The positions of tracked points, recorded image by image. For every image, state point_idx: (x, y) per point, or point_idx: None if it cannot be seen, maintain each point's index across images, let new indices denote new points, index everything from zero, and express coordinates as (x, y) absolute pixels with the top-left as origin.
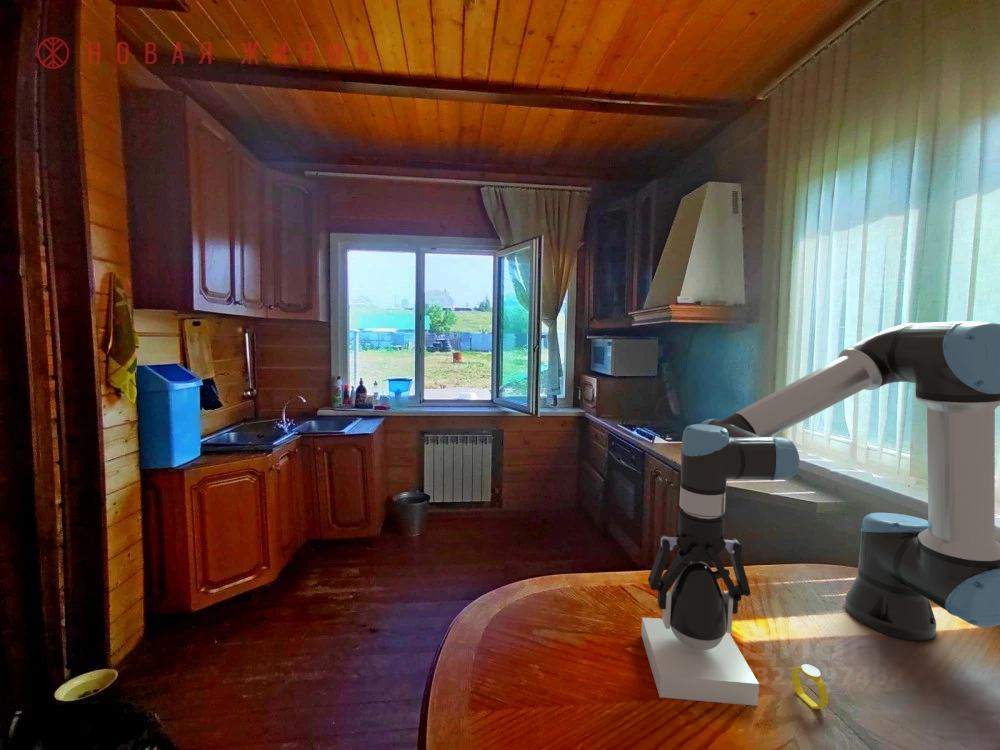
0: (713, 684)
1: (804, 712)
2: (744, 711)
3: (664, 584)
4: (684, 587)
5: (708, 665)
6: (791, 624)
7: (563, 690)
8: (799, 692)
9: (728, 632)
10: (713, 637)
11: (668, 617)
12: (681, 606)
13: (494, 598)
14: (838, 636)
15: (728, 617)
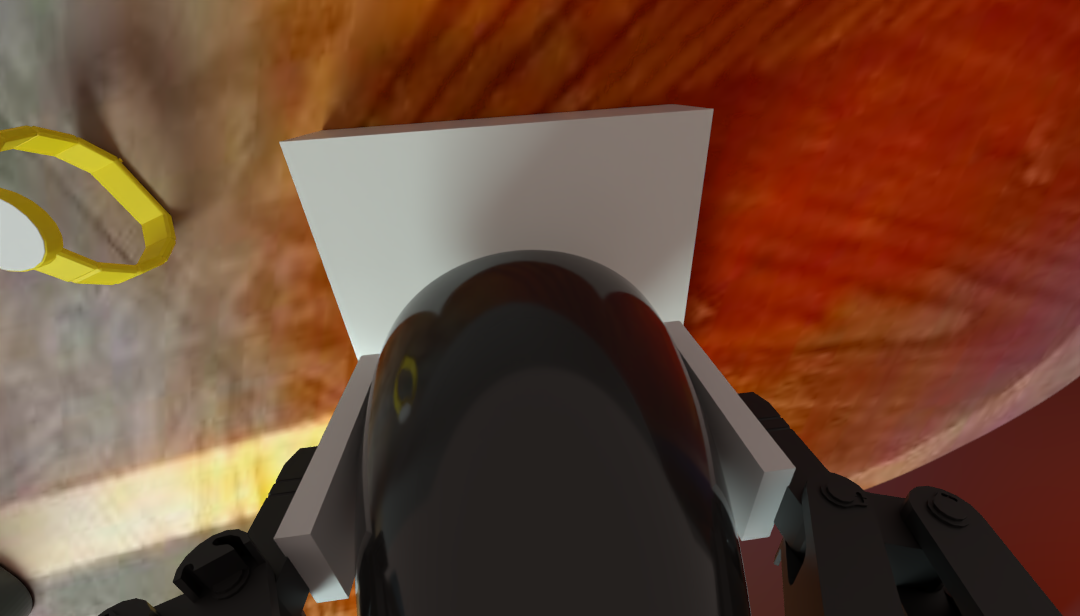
0: (484, 124)
1: (146, 131)
2: (374, 90)
3: (884, 557)
4: (733, 566)
5: (488, 218)
6: (189, 506)
7: (999, 71)
8: (158, 221)
9: (374, 356)
10: (468, 267)
11: (695, 357)
12: (689, 399)
13: (1010, 418)
14: (45, 494)
15: (354, 415)
